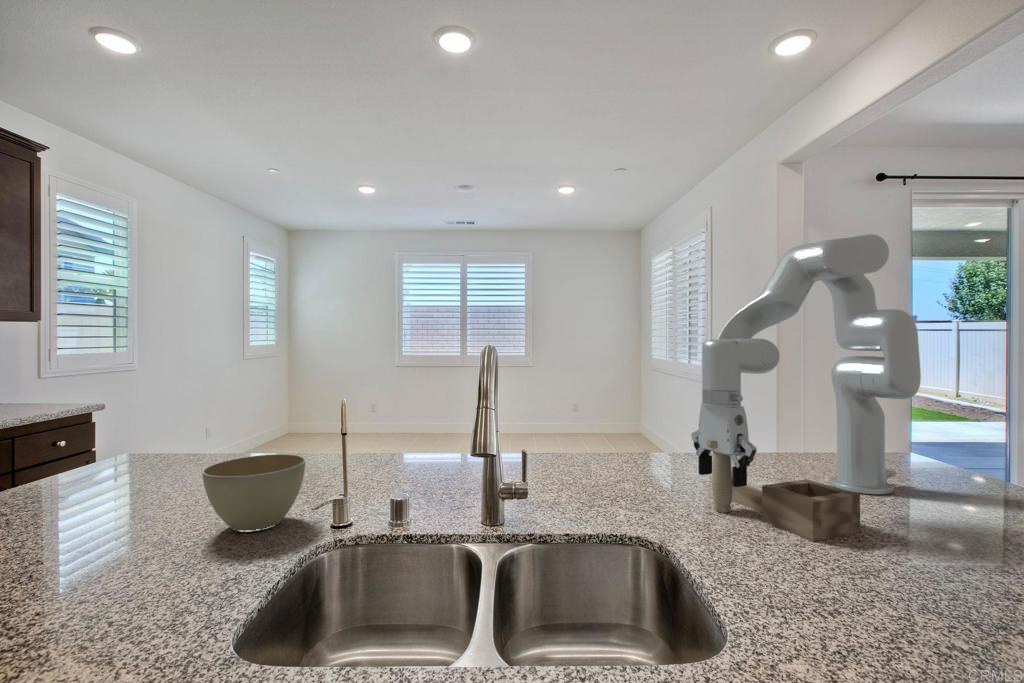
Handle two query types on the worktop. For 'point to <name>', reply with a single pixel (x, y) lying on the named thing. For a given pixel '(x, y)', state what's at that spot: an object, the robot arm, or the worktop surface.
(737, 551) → the worktop surface
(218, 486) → the olive grey bowl
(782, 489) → the wooden box scoop
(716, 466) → the handle
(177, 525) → the worktop surface
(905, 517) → the worktop surface
